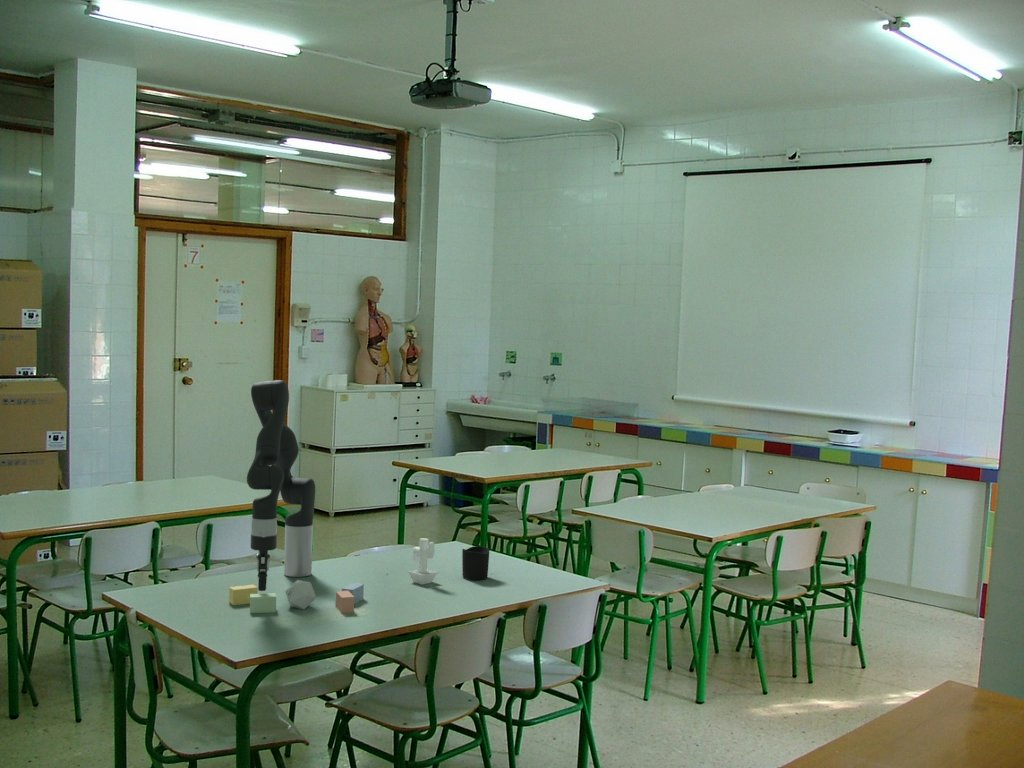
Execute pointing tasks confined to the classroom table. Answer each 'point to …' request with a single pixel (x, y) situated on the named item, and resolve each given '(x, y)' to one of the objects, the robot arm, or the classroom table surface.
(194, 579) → the classroom table surface
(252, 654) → the classroom table surface
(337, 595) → the terracotta brick
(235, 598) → the ochre brick
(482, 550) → the pen holder
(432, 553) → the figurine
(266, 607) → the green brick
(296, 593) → the die
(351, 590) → the slate brick
